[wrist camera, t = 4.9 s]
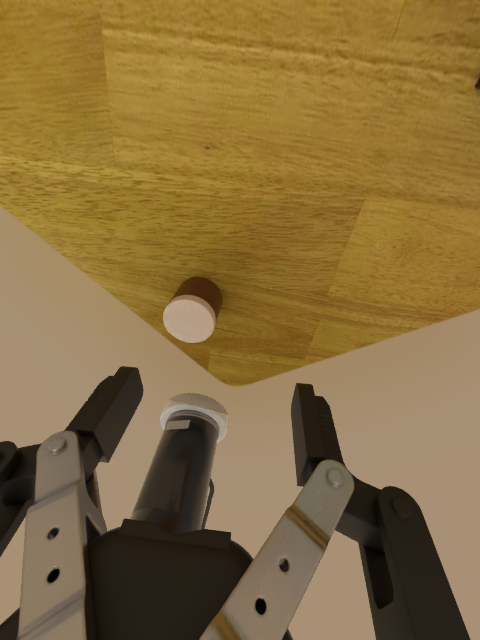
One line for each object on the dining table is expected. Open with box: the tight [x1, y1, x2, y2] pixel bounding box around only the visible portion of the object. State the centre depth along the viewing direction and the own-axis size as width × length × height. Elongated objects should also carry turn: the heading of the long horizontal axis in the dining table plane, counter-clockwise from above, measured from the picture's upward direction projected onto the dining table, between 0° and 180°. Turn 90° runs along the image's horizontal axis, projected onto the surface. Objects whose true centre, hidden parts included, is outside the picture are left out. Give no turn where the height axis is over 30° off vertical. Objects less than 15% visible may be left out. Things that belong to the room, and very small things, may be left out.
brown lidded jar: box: [163, 278, 222, 343], centre depth 26 cm, size 5×5×5 cm
